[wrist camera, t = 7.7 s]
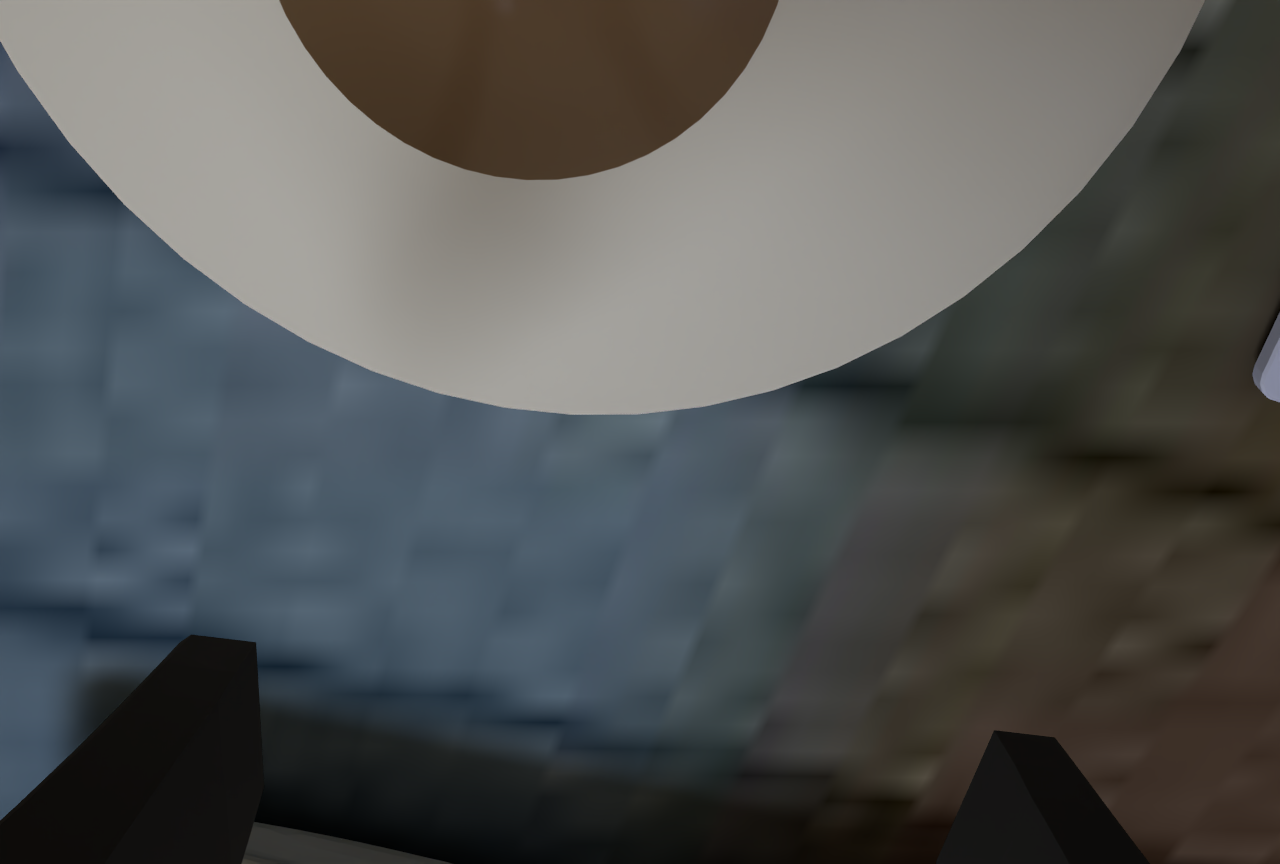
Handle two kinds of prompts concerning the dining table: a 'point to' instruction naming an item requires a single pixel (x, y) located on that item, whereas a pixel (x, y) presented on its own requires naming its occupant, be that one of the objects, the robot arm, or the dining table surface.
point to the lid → (596, 170)
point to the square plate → (318, 849)
